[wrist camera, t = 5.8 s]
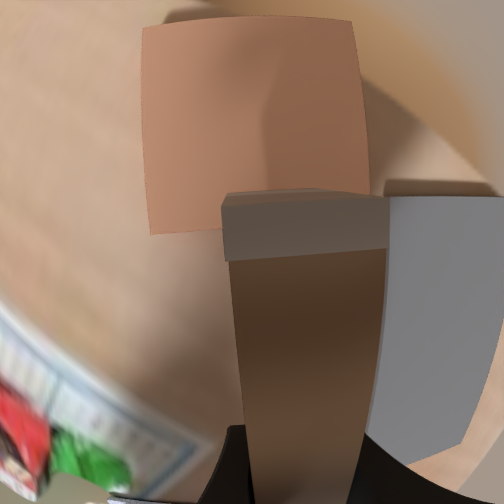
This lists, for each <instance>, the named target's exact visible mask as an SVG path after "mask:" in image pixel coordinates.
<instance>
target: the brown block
mask: <svg viewBox="0 0 504 504" xmlns="http://www.w3.org/2000/svg"><path fill="white" fill-rule="evenodd" d="M221 218H222V230H223V242H224V253H225V261H229V271H230V282H231V293H232V304H233V314H234V324H235V334H236V344H237V354H238V364H239V373H240V382H241V391H242V400H243V409H244V417H245V426H246V434H247V442H248V451H249V459H250V466H251V474H252V482H253V489H254V497H255V504H346V501H347V498H348V495H349V491H350V488H351V484H352V481H353V477H354V474H355V470H356V466H357V462H358V458H359V454H360V450H361V446H362V442H363V437H364V433H365V428H366V423H367V418H368V413H369V408H370V403H371V397H372V391H373V386H374V379H375V373H376V366H377V359H378V351H379V343H380V335H381V326H382V315H383V304H384V291H385V274H386V249H387V248H389V234H390V202H389V198H386V197H380V196H373V195H366V194H358V193H351V192H343V191H335V190H327V189H318V188H300V189H280V190H263V191H248V192H235V193H227V194H226V196H225V198H224V201H223V203H222V205H221Z"/></svg>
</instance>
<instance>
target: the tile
mask: <svg viewBox="0 0 504 504" xmlns="http://www.w3.org/2000/svg"><path fill="white" fill-rule="evenodd" d="M141 107H142V138H143V157H144V172H145V185H146V197H147V208H148V218H149V227H150V235H154V234H165V233H177V232H189V231H201V230H213V229H222V218H221V205H222V203H223V201H224V198H225V196H226V194H227V193H235V192H248V191H263V190H280V189H300V188H318V189H327V190H335V191H343V192H351V193H358V194H366V195H370V174H369V156H368V141H367V129H366V118H365V109H364V100H363V91H362V83H361V76H360V69H359V62H358V56H357V50H356V44H355V39H354V34H353V28H352V23H351V21H343V20H335V19H325V18H313V17H296V16H236V17H220V18H208V19H198V20H189V21H181V22H174V23H168V24H162V25H156V26H150V27H145V28H143V31H142V60H141Z"/></svg>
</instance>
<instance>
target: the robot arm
mask: <svg viewBox="0 0 504 504" xmlns="http://www.w3.org/2000/svg"><path fill="white" fill-rule="evenodd" d="M107 501H108V503H109V504H169V503H156V502H146V501H137V500H129V499H122V498H116V497H108V500H107ZM197 504H255V497H254V489H253V482H252V474H251V466H250V459H249V451H248V442H247V434H246V426H245V425H233V426H230V427H228V428H227V434H226V439H225V442H224V446H223V449H222V452H221V455H220V457H219V460H218V462H217V465H216V467H215V469H214V472H213V474H212V476H211V478H210V480H209V482H208V484H207V486H206V488H205V490H204V492H203V494H202V495H201V497H200V499H199V501H198V502H197ZM346 504H493V503H488V502H483V501H479V500H476V499H472V498H469V497H465V496H463V495H460V494H458V493H455V492H453V491H450V490H448V489H445V488H443V487H441V486H439V485H437V484H435V483H433V482H431V481H429V480H427V479H425V478H423V477H422V476H420V475H418V474H417V473H415V472H413V471H412V470H410V469H409V468H407V467H406V466H404V465H403V464H402V463H400V462H399V461H398V460H396V459H395V458H394V457H392V456H391V455H390V454H389V453H387V452H386V451H385V450H384V449H383V448H381V447H380V446H379V445H378V444H377V443H376V442H374V441H373V440H372V439H371V438H370V437H369V436H368V435H367V434H366V433H364V437H363V442H362V446H361V450H360V454H359V458H358V462H357V466H356V470H355V474H354V477H353V481H352V484H351V488H350V491H349V495H348V498H347V501H346Z"/></svg>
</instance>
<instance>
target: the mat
mask: <svg viewBox="0 0 504 504" xmlns="http://www.w3.org/2000/svg"><path fill="white" fill-rule="evenodd" d="M384 197H386V198H389V202H390V234H389V248H387V249H386V274H385V291H384V304H383V315H382V326H381V335H380V343H379V351H378V359H377V366H376V373H375V379H374V386H373V391H372V397H371V403H370V408H369V413H368V418H367V423H366V428H365V433H366V434H367V435H368V436H369V437H370V438H371V439H372V440H373V441H374V442H376V443H377V444H378V445H379V446H380V447H381V448H383V449H384V450H385V451H386V452H387V453H389V454H390V455H391V456H392V457H394V458H395V459H396V460H398V461H399V462H400V463H402V464H403V465H404V466H405V465H408V464H411V463H414V462H416V461H419V460H422V459H424V458H427V457H429V456H432V455H435V454H437V453H439V452H442V451H444V450H447V449H449V448H451V447H453V446H456V445H458V444H460V443H461V442H462V439H463V437H464V435H465V433H466V431H467V429H468V426H469V424H470V422H471V419H472V417H473V414H474V412H475V409H476V407H477V404H478V402H479V399H480V397H481V394H482V391H483V388H484V385H485V383H486V380H487V377H488V374H489V370H490V367H491V364H492V361H493V357H494V354H495V350H496V347H497V343H498V339H499V335H500V331H501V327H502V323H503V318H504V197H493V196H384Z"/></svg>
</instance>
